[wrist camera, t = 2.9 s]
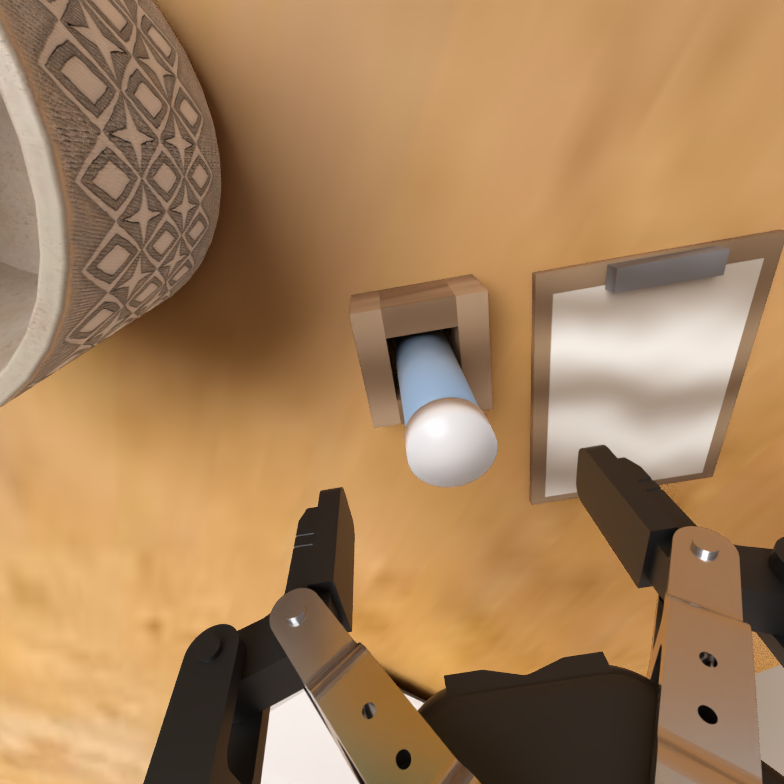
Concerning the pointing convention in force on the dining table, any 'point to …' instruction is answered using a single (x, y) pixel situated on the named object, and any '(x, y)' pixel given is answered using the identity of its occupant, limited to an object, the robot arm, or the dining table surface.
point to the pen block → (416, 315)
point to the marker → (440, 413)
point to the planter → (95, 177)
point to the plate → (305, 745)
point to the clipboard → (644, 357)
